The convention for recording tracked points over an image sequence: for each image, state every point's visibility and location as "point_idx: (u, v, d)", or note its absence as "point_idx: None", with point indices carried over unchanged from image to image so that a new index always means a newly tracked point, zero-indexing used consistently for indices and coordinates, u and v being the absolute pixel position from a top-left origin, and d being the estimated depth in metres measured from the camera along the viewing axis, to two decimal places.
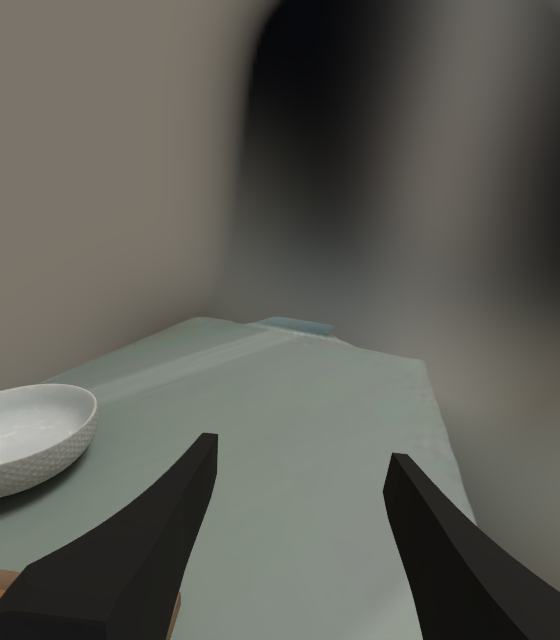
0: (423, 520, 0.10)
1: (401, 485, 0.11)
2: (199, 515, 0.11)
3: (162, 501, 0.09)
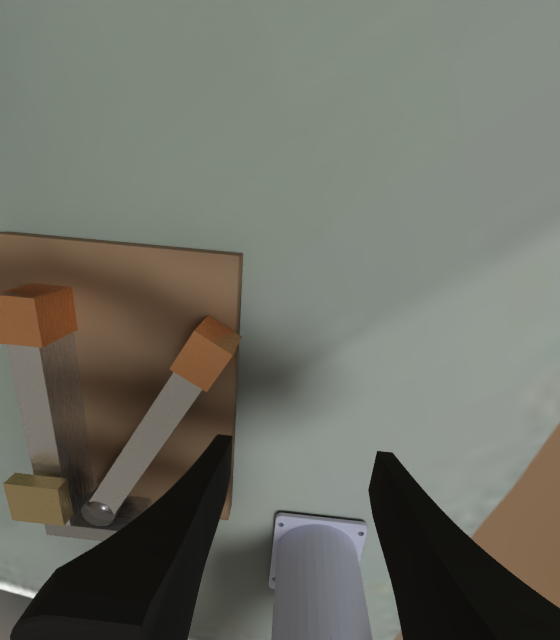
0: (404, 518, 0.10)
1: (385, 483, 0.11)
2: (216, 517, 0.11)
3: (183, 503, 0.09)
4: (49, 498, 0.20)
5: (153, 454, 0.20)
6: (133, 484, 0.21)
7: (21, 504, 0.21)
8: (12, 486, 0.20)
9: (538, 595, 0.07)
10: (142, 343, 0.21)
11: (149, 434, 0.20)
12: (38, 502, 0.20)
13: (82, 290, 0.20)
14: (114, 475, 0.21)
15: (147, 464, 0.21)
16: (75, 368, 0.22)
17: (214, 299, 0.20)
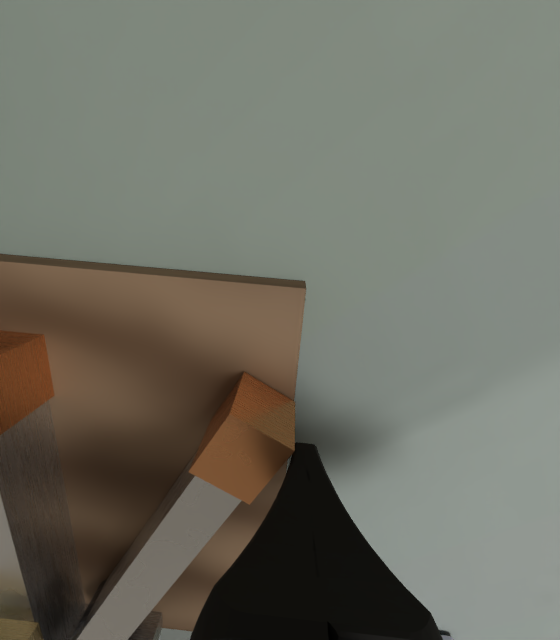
0: None
1: None
2: None
3: (296, 516, 0.09)
4: None
5: (165, 586, 0.13)
6: (136, 624, 0.14)
7: None
8: None
9: (394, 578, 0.07)
10: (151, 415, 0.14)
11: (158, 560, 0.13)
12: None
13: (60, 339, 0.13)
14: (107, 612, 0.14)
15: (157, 600, 0.14)
16: (52, 449, 0.15)
17: (263, 354, 0.13)
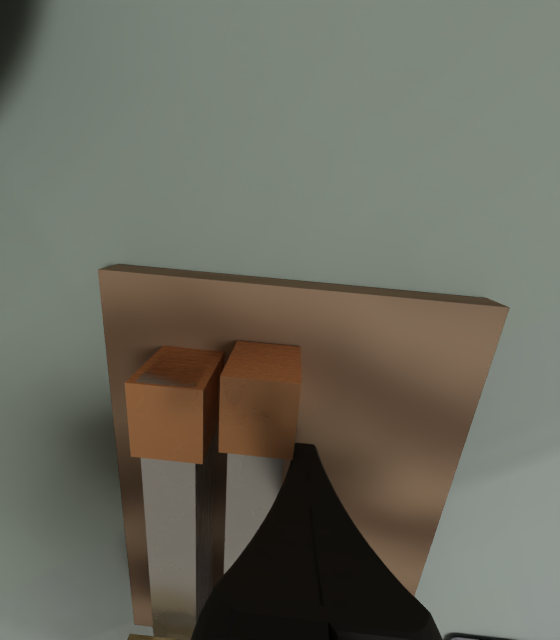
0: None
1: None
2: None
3: (297, 516, 0.09)
4: None
5: None
6: None
7: None
8: None
9: (394, 578, 0.07)
10: (320, 432, 0.14)
11: None
12: None
13: None
14: None
15: None
16: (213, 466, 0.15)
17: (450, 372, 0.13)
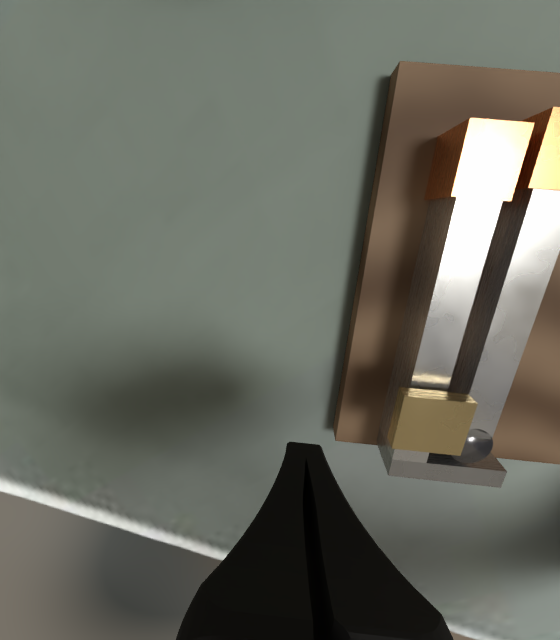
0: (311, 508, 0.10)
1: (305, 475, 0.11)
2: None
3: (287, 515, 0.09)
4: (460, 416, 0.16)
5: (528, 327, 0.15)
6: (509, 383, 0.16)
7: (415, 426, 0.16)
8: (414, 400, 0.15)
9: (403, 579, 0.07)
10: None
11: (516, 300, 0.15)
12: (441, 422, 0.16)
13: None
14: (481, 382, 0.16)
15: (523, 346, 0.16)
16: None
17: None
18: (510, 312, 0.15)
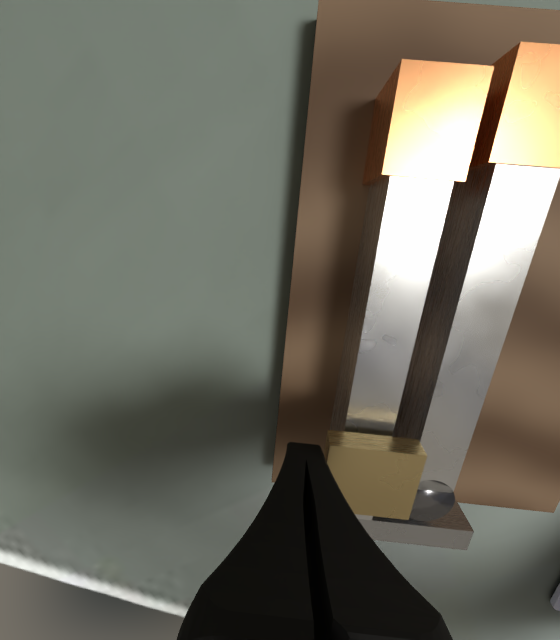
0: (310, 508, 0.10)
1: (304, 475, 0.11)
2: None
3: (288, 515, 0.09)
4: (404, 471, 0.12)
5: (495, 353, 0.11)
6: (473, 425, 0.13)
7: (347, 482, 0.12)
8: (344, 450, 0.12)
9: (403, 579, 0.07)
10: None
11: (478, 318, 0.11)
12: (381, 479, 0.12)
13: None
14: (436, 423, 0.13)
15: (489, 377, 0.12)
16: None
17: None
18: (470, 333, 0.11)
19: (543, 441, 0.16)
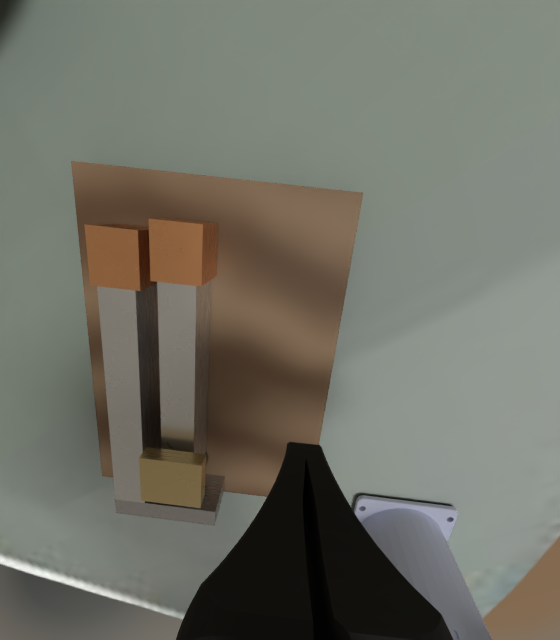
0: (311, 508, 0.10)
1: (305, 475, 0.11)
2: None
3: (287, 515, 0.09)
4: (189, 475, 0.18)
5: (191, 392, 0.18)
6: (192, 438, 0.19)
7: (155, 482, 0.18)
8: (148, 461, 0.18)
9: (403, 580, 0.07)
10: (237, 296, 0.19)
11: (174, 370, 0.17)
12: (176, 480, 0.18)
13: None
14: (168, 436, 0.19)
15: (192, 407, 0.18)
16: None
17: (327, 245, 0.18)
18: (172, 379, 0.17)
19: None
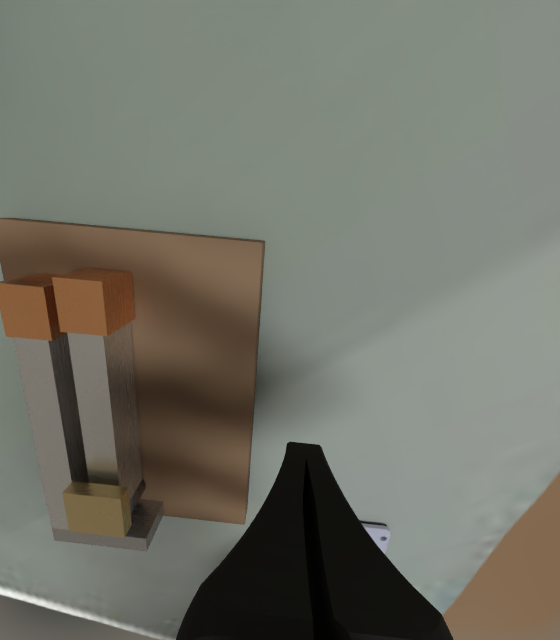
0: (311, 508, 0.10)
1: (305, 475, 0.11)
2: None
3: (287, 515, 0.09)
4: (110, 508, 0.19)
5: (110, 430, 0.19)
6: (116, 472, 0.20)
7: (80, 514, 0.19)
8: (71, 495, 0.19)
9: (403, 579, 0.07)
10: (157, 337, 0.20)
11: (92, 411, 0.18)
12: (99, 512, 0.19)
13: None
14: (94, 470, 0.20)
15: (113, 444, 0.19)
16: None
17: (234, 290, 0.19)
18: (91, 419, 0.19)
19: (218, 476, 0.23)
